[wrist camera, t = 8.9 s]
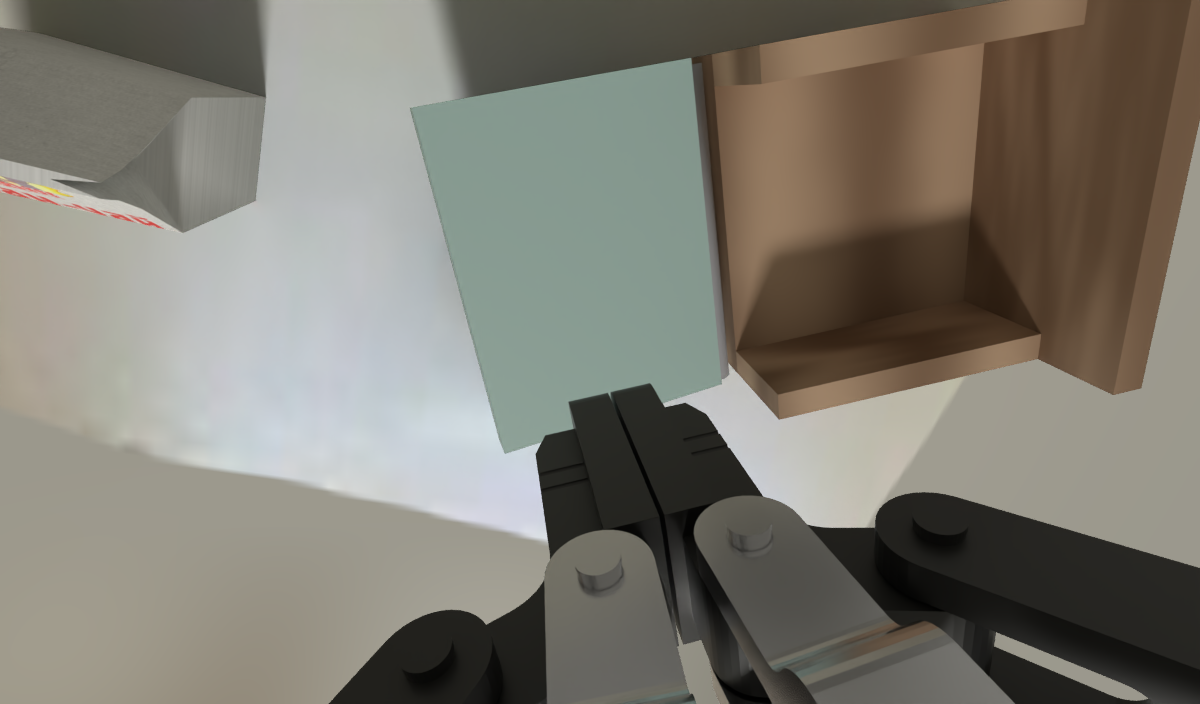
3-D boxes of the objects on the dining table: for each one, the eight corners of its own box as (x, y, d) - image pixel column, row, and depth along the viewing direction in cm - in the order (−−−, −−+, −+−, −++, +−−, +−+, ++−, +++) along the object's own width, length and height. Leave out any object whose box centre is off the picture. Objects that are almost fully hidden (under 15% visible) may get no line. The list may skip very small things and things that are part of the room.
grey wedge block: (39, 33, 20) (-343, -22, 11) (266, 97, 22) (102, 97, 12) (40, 148, 21) (-302, 187, 12) (255, 200, 23) (99, 270, 14)
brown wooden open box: (713, 346, 28) (820, 465, 19) (685, 59, 23) (811, 34, 14) (937, 296, 29) (1141, 388, 20) (954, 10, 24) (1235, -42, 15)
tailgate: (720, 369, 26) (499, 439, 24) (691, 57, 21) (409, 108, 19) (734, 379, 25) (505, 453, 23) (707, 54, 20) (411, 107, 18)
